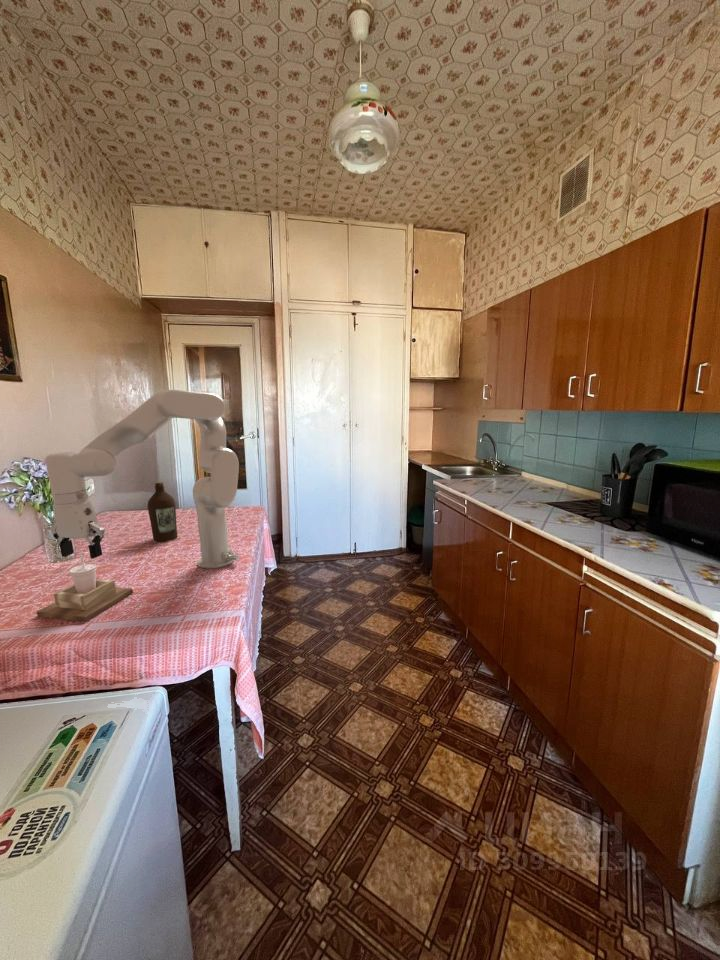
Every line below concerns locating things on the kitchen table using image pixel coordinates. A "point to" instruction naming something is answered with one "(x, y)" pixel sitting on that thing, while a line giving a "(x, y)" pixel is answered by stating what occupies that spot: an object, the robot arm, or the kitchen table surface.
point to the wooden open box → (84, 601)
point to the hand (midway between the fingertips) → (82, 555)
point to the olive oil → (162, 515)
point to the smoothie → (84, 577)
